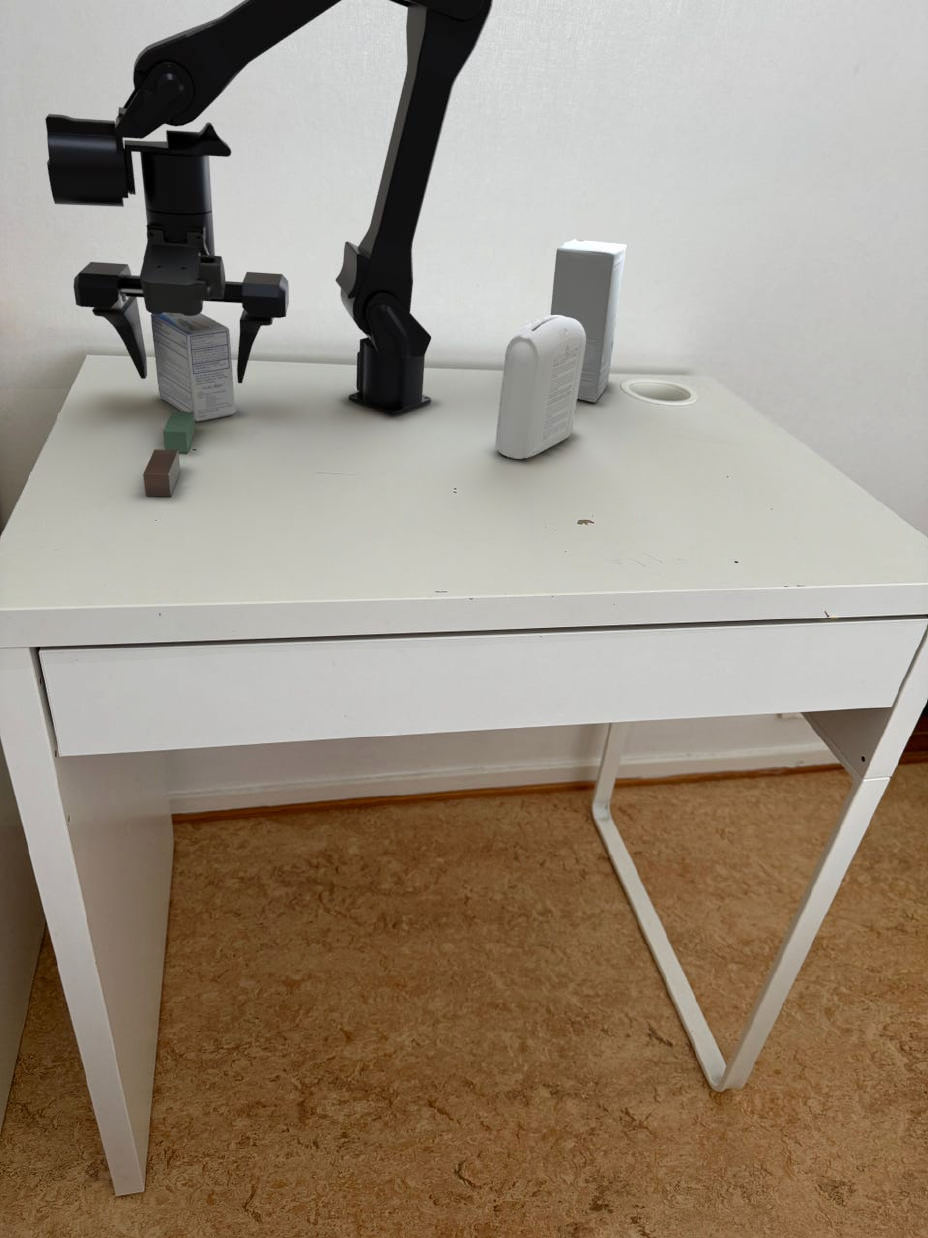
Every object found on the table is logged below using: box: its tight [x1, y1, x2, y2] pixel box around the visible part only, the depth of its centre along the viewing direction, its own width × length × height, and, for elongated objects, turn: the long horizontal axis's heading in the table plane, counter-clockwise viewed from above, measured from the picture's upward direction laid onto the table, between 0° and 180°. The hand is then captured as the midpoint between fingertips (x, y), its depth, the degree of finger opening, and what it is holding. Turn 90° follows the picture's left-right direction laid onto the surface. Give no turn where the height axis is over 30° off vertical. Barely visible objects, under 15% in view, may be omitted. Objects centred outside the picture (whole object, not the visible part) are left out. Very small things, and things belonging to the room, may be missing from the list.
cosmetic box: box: [550, 239, 628, 403], centre depth 102 cm, size 8×7×16 cm
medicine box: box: [150, 312, 236, 422], centre depth 89 cm, size 8×4×9 cm, turn 41°
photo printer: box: [495, 314, 586, 460], centre depth 87 cm, size 10×4×12 cm, turn 146°
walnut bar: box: [142, 448, 181, 498], centre depth 76 cm, size 5×2×2 cm, turn 6°
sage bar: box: [162, 410, 196, 454], centre depth 83 cm, size 5×2×2 cm, turn 6°
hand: (192, 379), depth 90 cm, fingers open, 9 cm apart
